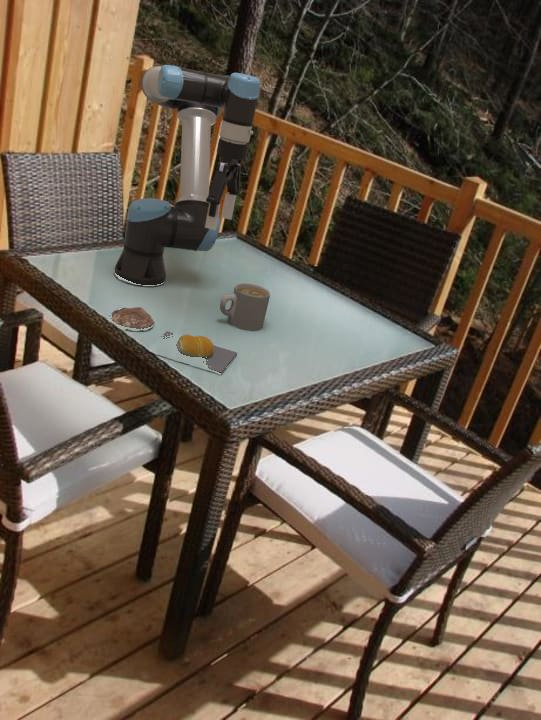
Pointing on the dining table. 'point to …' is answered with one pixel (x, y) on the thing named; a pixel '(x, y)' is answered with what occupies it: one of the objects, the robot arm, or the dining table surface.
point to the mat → (216, 357)
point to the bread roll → (195, 346)
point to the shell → (132, 318)
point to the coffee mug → (246, 306)
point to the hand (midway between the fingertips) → (218, 223)
